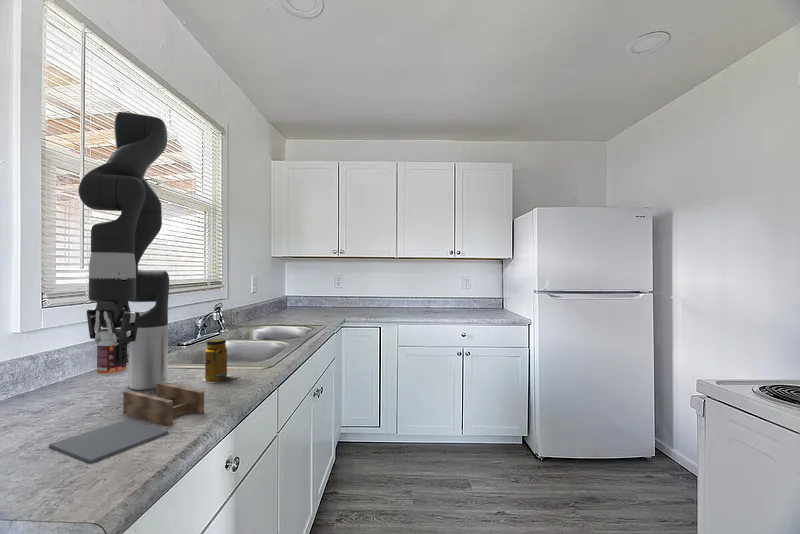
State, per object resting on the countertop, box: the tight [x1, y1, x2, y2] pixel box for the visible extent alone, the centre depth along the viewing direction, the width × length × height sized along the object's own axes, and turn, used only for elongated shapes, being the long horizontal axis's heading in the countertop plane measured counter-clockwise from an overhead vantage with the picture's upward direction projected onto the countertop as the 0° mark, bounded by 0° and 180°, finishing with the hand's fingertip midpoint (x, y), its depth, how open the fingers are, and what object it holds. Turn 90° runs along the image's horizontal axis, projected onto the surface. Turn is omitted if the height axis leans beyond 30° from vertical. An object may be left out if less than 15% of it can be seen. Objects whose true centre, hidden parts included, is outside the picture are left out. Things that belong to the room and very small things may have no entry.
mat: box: [48, 419, 169, 464], centre depth 79 cm, size 14×14×1 cm
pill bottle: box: [96, 330, 127, 377], centre depth 79 cm, size 5×5×8 cm
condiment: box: [199, 338, 238, 385], centre depth 123 cm, size 7×8×12 cm
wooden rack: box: [122, 382, 205, 427], centre depth 94 cm, size 16×9×5 cm, turn 64°
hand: (112, 362), depth 79 cm, fingers closed on pill bottle, 4 cm apart
